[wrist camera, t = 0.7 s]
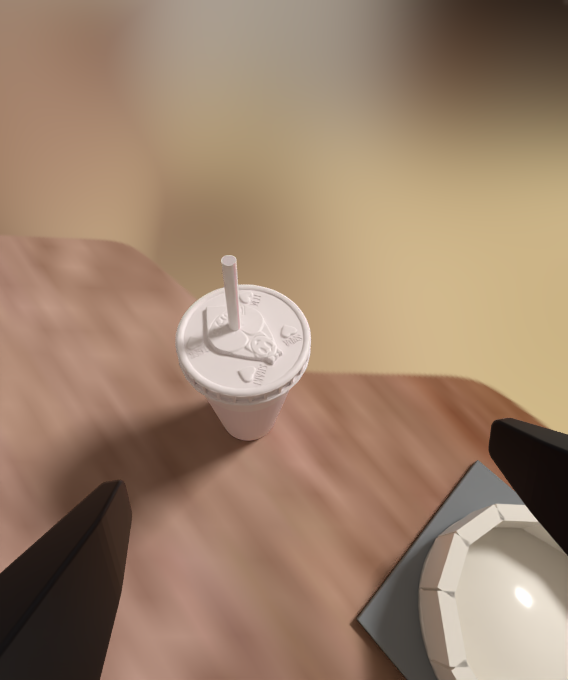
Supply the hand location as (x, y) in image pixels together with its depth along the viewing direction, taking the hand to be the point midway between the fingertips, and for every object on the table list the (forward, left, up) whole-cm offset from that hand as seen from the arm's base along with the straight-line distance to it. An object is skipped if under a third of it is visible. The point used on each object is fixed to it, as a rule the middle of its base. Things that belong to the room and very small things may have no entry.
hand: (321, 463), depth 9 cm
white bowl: (-4, -12, -15) cm, 19 cm away
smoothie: (+7, +3, -15) cm, 17 cm away
